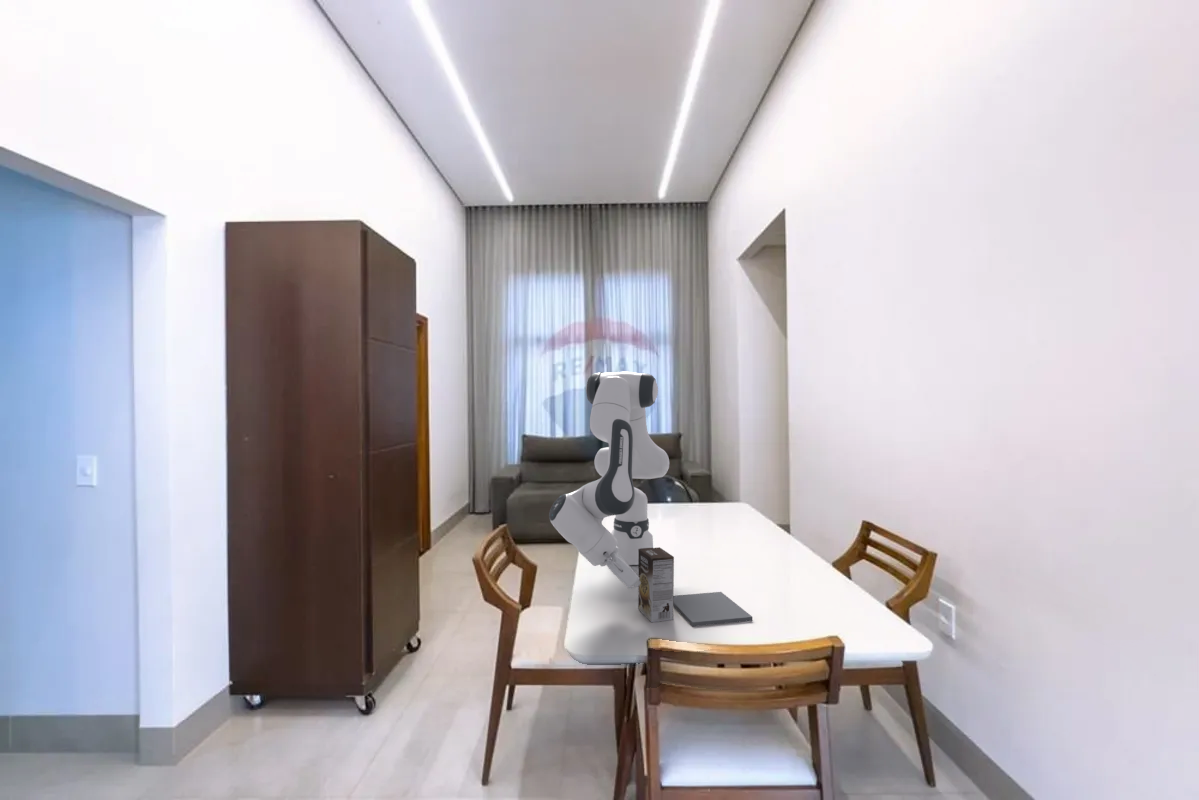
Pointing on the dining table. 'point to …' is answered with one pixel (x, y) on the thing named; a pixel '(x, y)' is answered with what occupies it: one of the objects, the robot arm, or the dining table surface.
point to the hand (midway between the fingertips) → (637, 583)
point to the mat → (709, 609)
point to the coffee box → (656, 584)
